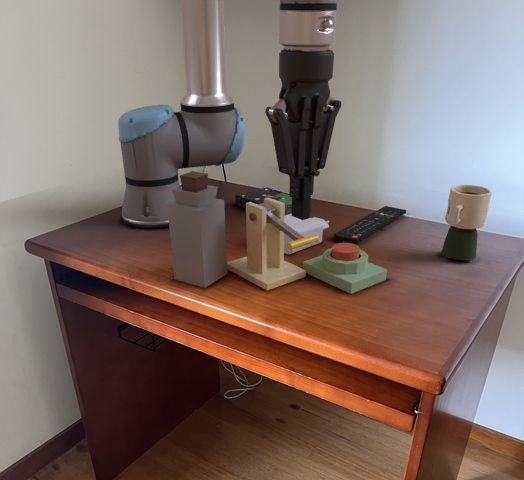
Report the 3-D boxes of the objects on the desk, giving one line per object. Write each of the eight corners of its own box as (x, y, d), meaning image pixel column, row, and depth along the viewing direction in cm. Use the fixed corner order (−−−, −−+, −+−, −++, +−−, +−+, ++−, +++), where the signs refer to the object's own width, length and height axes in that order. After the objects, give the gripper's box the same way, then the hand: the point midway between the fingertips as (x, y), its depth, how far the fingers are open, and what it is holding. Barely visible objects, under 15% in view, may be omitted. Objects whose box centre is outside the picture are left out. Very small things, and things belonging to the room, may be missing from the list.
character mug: (451, 245, 110) (463, 180, 104) (486, 253, 107) (501, 186, 100) (428, 261, 103) (439, 193, 96) (464, 271, 99) (478, 200, 93)
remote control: (405, 215, 126) (406, 210, 126) (355, 246, 110) (355, 240, 109) (384, 211, 129) (385, 205, 128) (332, 241, 113) (332, 234, 112)
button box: (302, 271, 100) (303, 251, 98) (337, 259, 104) (338, 239, 102) (350, 294, 92) (352, 272, 90) (386, 279, 97) (388, 258, 94)
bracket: (306, 276, 98) (308, 206, 91) (267, 290, 93) (266, 217, 86) (264, 256, 106) (263, 190, 99) (226, 268, 101) (223, 200, 94)
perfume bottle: (204, 287, 94) (197, 182, 85) (174, 279, 97) (164, 176, 88) (227, 274, 99) (223, 172, 90) (197, 266, 102) (190, 167, 93)
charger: (341, 237, 115) (291, 256, 106) (309, 226, 120) (259, 243, 112) (343, 215, 112) (292, 232, 104) (310, 205, 118) (259, 221, 109)
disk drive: (234, 206, 134) (275, 219, 124) (234, 194, 132) (275, 207, 123) (266, 197, 140) (307, 210, 130) (266, 186, 138) (307, 198, 129)
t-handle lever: (317, 245, 90) (320, 233, 89) (290, 254, 87) (292, 241, 86) (272, 212, 97) (274, 200, 95) (245, 219, 94) (247, 206, 92)
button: (325, 256, 97) (326, 246, 96) (344, 249, 99) (345, 240, 98) (345, 264, 93) (346, 254, 92) (364, 257, 96) (365, 248, 95)
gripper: (288, 52, 68) (284, 232, 81) (360, 47, 75) (346, 214, 88) (252, 48, 73) (253, 219, 86) (322, 44, 80) (314, 203, 93)
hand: (300, 216), depth 87 cm, fingers closed
